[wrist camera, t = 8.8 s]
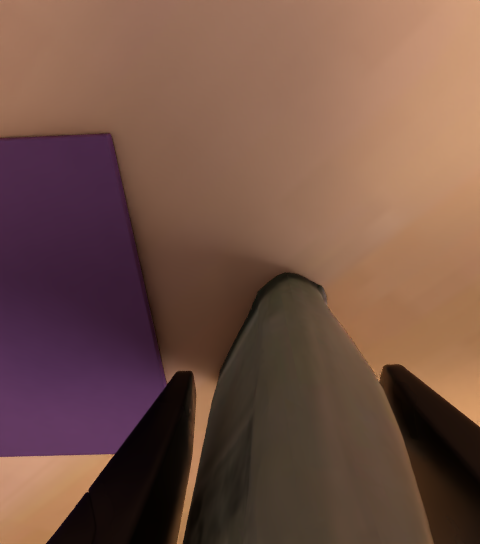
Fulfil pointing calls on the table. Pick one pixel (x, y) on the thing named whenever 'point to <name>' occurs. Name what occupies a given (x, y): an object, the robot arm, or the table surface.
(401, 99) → the table surface
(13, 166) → the felt cloth
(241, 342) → the grey rounded block
